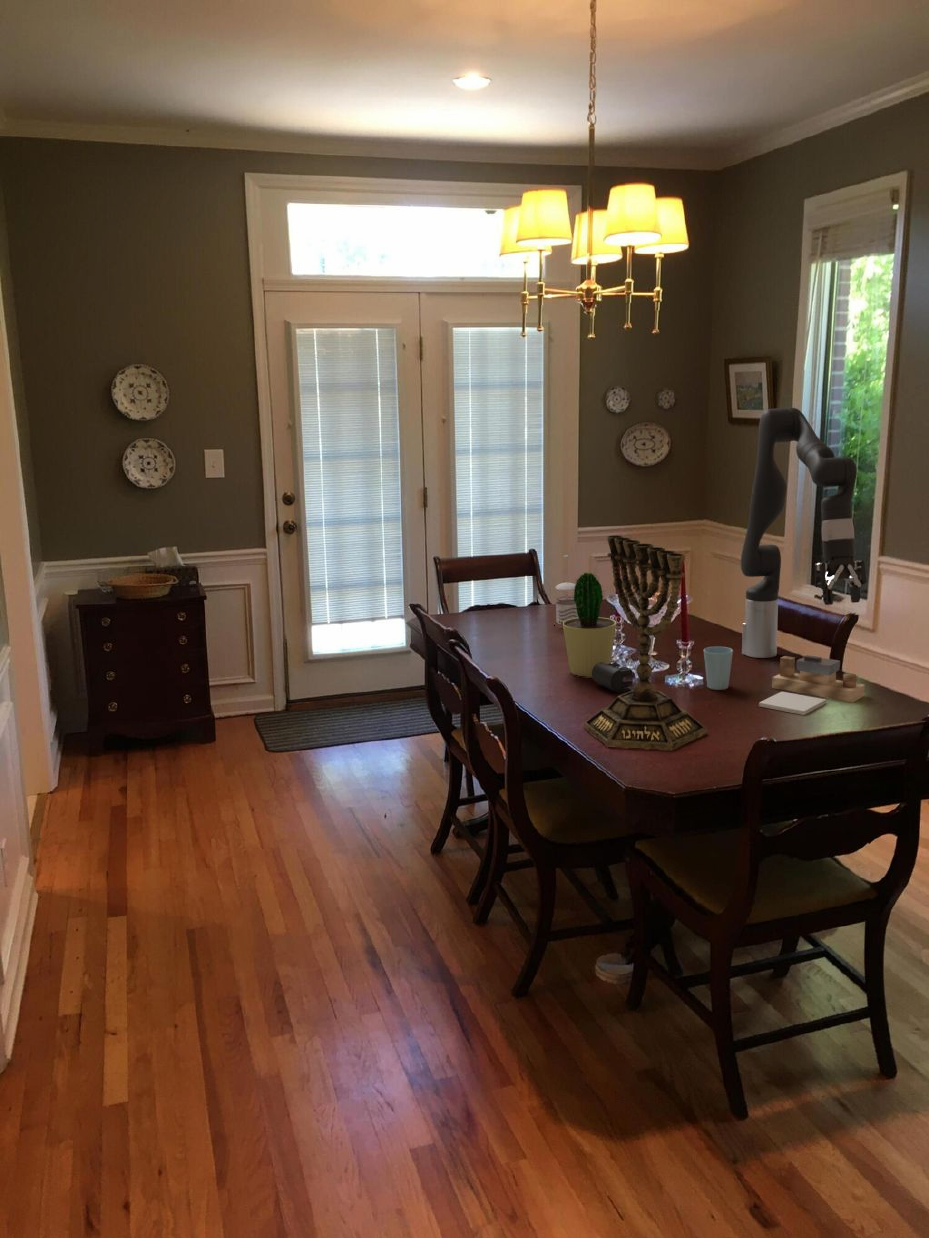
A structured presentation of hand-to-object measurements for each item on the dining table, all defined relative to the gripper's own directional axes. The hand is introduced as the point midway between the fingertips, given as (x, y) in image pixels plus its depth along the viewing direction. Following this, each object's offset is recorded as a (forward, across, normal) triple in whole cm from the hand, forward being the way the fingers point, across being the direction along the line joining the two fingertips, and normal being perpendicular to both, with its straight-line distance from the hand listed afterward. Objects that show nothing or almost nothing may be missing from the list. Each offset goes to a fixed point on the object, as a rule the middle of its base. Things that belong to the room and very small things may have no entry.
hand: (842, 603), depth 249 cm
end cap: (+20, +40, -45) cm, 64 cm away
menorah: (+27, +52, -12) cm, 60 cm away
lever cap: (+17, -3, -14) cm, 22 cm away
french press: (+4, +13, -117) cm, 118 cm away
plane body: (+23, -4, -15) cm, 28 cm away
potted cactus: (+16, +37, -62) cm, 74 cm away
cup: (+21, +15, -32) cm, 41 cm away
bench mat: (+25, +9, -10) cm, 28 cm away
